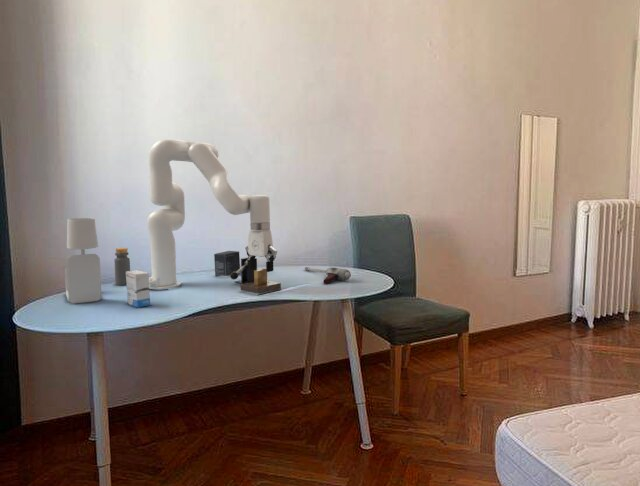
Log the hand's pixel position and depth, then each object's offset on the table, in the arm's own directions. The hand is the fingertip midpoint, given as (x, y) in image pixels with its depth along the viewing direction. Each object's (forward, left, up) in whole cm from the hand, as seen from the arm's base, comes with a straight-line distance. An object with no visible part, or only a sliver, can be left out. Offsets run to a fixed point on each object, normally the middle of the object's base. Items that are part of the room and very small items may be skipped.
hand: (261, 270), depth 207 cm
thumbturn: (0, 0, -5) cm, 5 cm away
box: (+12, +36, -9) cm, 39 cm away
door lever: (+3, +14, -3) cm, 15 cm away
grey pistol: (+35, +1, -9) cm, 36 cm away
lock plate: (0, 0, -9) cm, 9 cm away
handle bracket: (+6, +14, -9) cm, 18 cm away
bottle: (-28, +54, -9) cm, 62 cm away
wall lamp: (-50, +41, -9) cm, 66 cm away
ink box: (-42, +17, -9) cm, 46 cm away
